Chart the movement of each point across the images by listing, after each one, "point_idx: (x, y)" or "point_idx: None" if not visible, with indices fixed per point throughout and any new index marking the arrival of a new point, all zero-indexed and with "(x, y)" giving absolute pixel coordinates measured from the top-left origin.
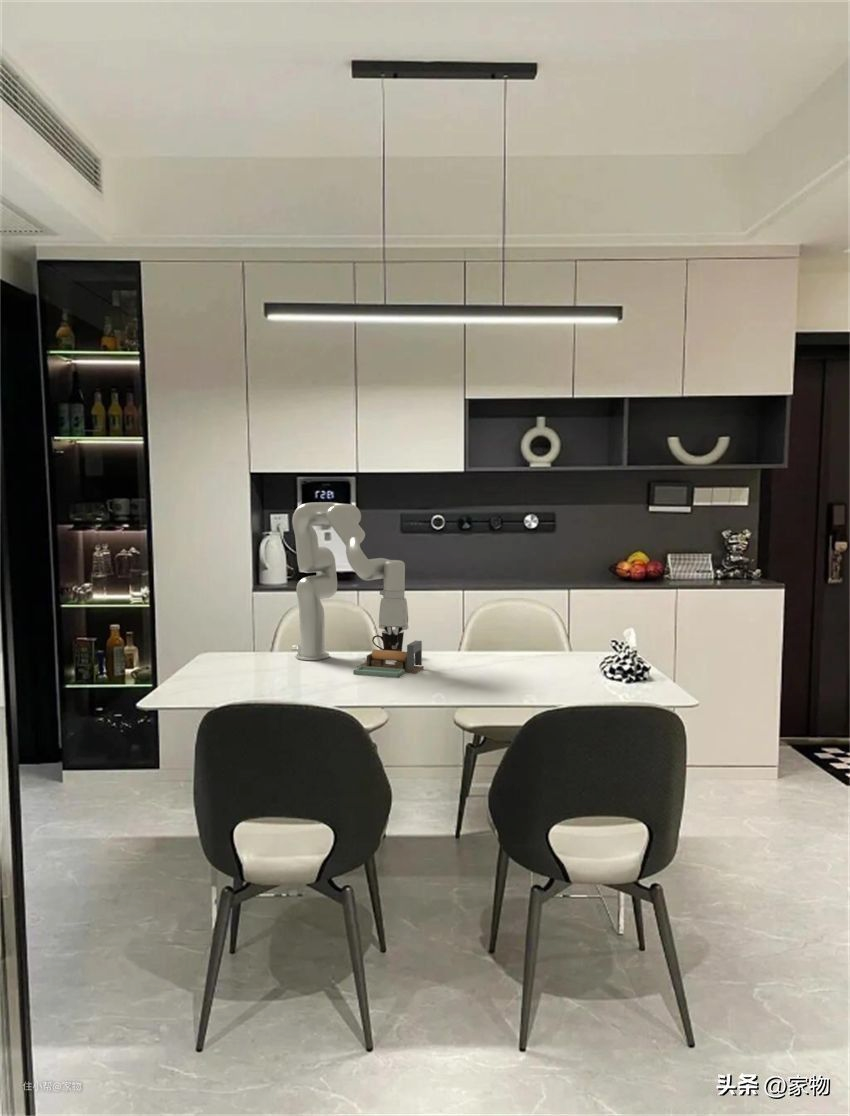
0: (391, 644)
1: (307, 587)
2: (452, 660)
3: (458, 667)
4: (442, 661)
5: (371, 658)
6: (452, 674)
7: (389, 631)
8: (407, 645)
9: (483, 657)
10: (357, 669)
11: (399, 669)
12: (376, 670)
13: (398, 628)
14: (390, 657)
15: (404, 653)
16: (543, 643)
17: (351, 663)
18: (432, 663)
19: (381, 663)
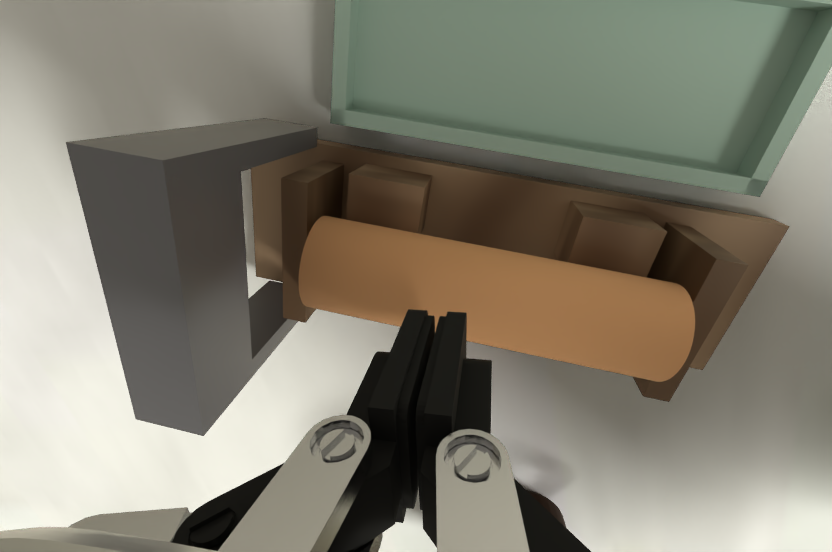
0: (451, 315)
1: None
2: (202, 451)
3: (108, 324)
4: (237, 435)
5: None
6: (47, 151)
7: (474, 488)
8: (159, 157)
9: (109, 492)
10: (804, 65)
11: (376, 114)
12: (589, 134)
13: (230, 536)
14: (471, 244)
15: (318, 250)
16: None
17: (806, 390)
18: (269, 398)
19: (559, 256)
